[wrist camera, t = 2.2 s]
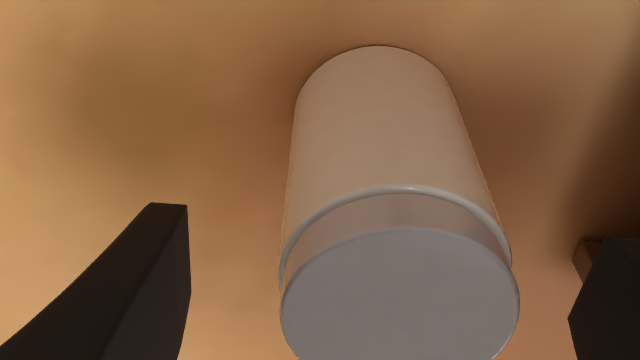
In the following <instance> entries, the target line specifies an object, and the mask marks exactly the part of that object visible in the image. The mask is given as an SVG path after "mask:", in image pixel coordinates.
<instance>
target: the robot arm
mask: <svg viewBox="0 0 640 360" xmlns="http://www.w3.org/2000/svg"><path fill="white" fill-rule="evenodd" d="M190 297H191V273H190V253H189V232H188V212H187V205H181V204H167V203H154V202H151V203H149V204H148V205H147V206H146V207H144V208H143V210H142V211H141V212H140V213H139V214H138V215H137V216H136V217H135V218H134V219H133V221H132V222H131V223H130V224H129V225H128V226H127V227H126V228H125V229H124V230H123V232H122V233H121V234H120V235H119V236H118V237H117V238H116V239H115V240H114V241H113V242H112V243H111V244H110V245H109V246H108V247H107V248H106V250H105V251H104V252H103V253H102V254H101V255H100V256H99V257H98V258H97V259H96V260H95V261H94V262H93V263H92V264H91V265H90V266H89V267H88V268H87V269H86V270H85V271H84V272H83V273H82V274H81V275H80V276H79V277H78V278H77V279H76V280H75V281H74V282H73V283H72V284H70V285H69V286H68V287H67V288H66V289H65V290H64V291H63V292H62V293H61V294H60V295H59V296H58V297H56V298H55V299H54V300H53V301H52V302H51V303H50V304H49V305H48V306H46V307H45V308H44V309H43V310H42V311H41V312H40V313H39V314H37V315H36V316H35V317H34V318H33V319H32V320H31V321H30V322H29V323H27V324H26V325H25V326H24V327H23V328H22V329H20V330H19V331H18V332H17V333H16V334H14V335H13V336H12V337H11V338H10V339H8V340H7V341H6V342H5V343H4V344H2V345H1V346H0V360H177V357H178V354H179V351H180V348H181V344H182V339H183V334H184V329H185V324H186V319H187V313H188V308H189V302H190ZM568 322H569V327H570V331H571V335H572V339H573V344H574V348H575V351H576V355H577V359H578V360H640V239H634V238H621V237H608V236H605V238H604V240H603V243H602V245H601V247H600V249H599V251H598V253H597V256H596V258H595V260H594V262H593V264H592V266H591V269H590V271H589V273H588V275H587V277H586V279H585V282H584V284H583V286H582V288H581V290H580V292H579V295H578V297H577V299H576V301H575V303H574V305H573V308H572V310H571V312H570V314H569V316H568Z"/></svg>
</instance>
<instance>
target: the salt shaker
mask: <svg viewBox="0 0 640 360" xmlns="http://www.w3.org/2000/svg"><path fill="white" fill-rule="evenodd" d="M277 271H278V284H279V289H280V292H281V300H280V323H281V327H282V331H283V334H284V336H285V339H286V341H287V343H288V345H289V346H290V348H291V349H292V351H293V353H294V354H295V355H296V356H297V357H298V358H299V360H493V359H494V358H495V357H496V356H497V355H498V354H499V353H500V352H501V350H502V349H503V348H504V347H505V345H506V344H507V343H508V341H509V340H510V338H511V336H512V334H513V332H514V330H515V328H516V324H517V321H518V317H519V311H520V295H519V290H518V287H517V283H516V280H515V277H514V274H513V272H512V254H511V249H510V246H509V242H508V239H507V236H506V234H505V231H504V228H503V226H502V223H501V220H500V218H499V215H498V212H497V209H496V207H495V204H494V201H493V199H492V196H491V193H490V191H489V188H488V185H487V183H486V180H485V177H484V175H483V172H482V169H481V167H480V164H479V161H478V158H477V156H476V153H475V150H474V148H473V145H472V142H471V140H470V137H469V134H468V132H467V129H466V126H465V124H464V121H463V118H462V116H461V113H460V110H459V107H458V105H457V102H456V99H455V97H454V94H453V92H452V89H451V87H450V85H449V83H448V82H447V80H446V79H445V77H444V76H443V75H442V73H441V72H440V71H439V70H438V69H437V68H436V67H435V66H434V65H432V64H431V63H430V62H429V61H427V60H426V59H424V58H422V57H421V56H419V55H417V54H415V53H412V52H410V51H407V50H403V49H400V48H395V47H389V46H370V47H362V48H357V49H353V50H350V51H347V52H344V53H342V54H340V55H338V56H336V57H334V58H332V59H330V60H329V61H327V62H326V63H324V64H323V65H322V66H320V67H319V68H318V69H317V70H316V71H315V72H314V73H313V74H312V75H311V76H310V78H309V79H308V80H307V81H306V83H305V84H304V86H303V88H302V89H301V91H300V94H299V96H298V98H297V101H296V105H295V109H294V116H293V125H292V135H291V144H290V154H289V163H288V173H287V183H286V192H285V202H284V211H283V221H282V230H281V240H280V249H279V259H278V269H277Z"/></svg>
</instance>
